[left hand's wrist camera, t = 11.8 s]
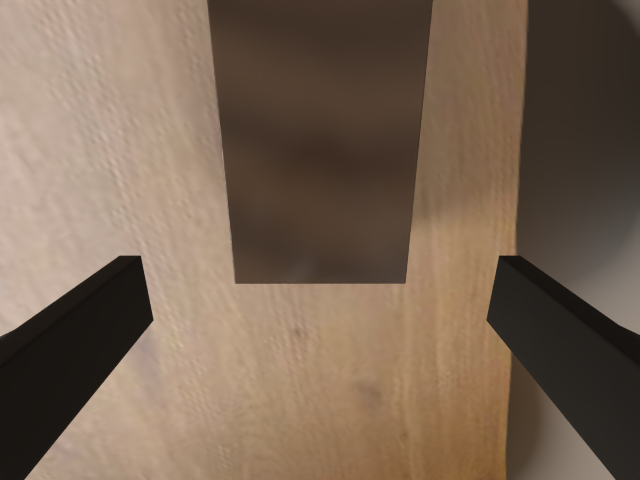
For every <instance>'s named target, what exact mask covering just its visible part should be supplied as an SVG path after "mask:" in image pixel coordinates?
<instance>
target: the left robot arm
mask: <svg viewBox="0 0 640 480" xmlns="http://www.w3.org/2000/svg"><path fill="white" fill-rule="evenodd" d="M152 321H153V315H152V310H151V305H150V300H149V295H148V290H147V285H146V280H145V275H144V270H143V265H142V259H141V256H119V257H117V258H116V259H114V260H113V261H112V262H110V263H109V264H107V265H106V266H104V267H103V268H102V269H100V270H99V271H97V272H96V273H95V274H93V275H92V276H90V277H89V278H87V279H86V280H85V281H83V282H82V283H80V284H79V285H77V286H76V287H75V288H73V289H72V290H70V291H69V292H68V293H66V294H65V295H63V296H62V297H60V298H59V299H58V300H56V301H55V302H53V303H52V304H50V305H49V306H48V307H46V308H45V309H43V310H42V311H41V312H39V313H38V314H36V315H35V316H33V317H32V318H31V319H29V320H28V321H26V322H25V323H23V324H22V325H21V326H19V327H18V328H16V329H15V330H13V331H11V332H9V333H7V334H5V335H3V336H1V337H0V480H24V479H25V478H26V477H27V476H28V474H29V473H30V472H31V471H32V470H33V468H34V467H35V466H36V465H37V463H38V462H39V461H40V460H41V458H42V457H43V456H44V455H45V453H46V452H47V451H48V450H49V449H50V447H51V446H52V445H53V444H54V442H55V441H56V440H57V439H58V437H59V436H60V435H61V434H62V432H63V431H64V430H65V429H66V428H67V426H68V425H69V424H70V423H71V421H72V420H73V419H74V418H75V416H76V415H77V414H78V413H79V412H80V410H81V409H82V408H83V407H84V405H85V404H86V403H87V402H88V400H89V399H90V398H91V397H92V395H93V394H94V393H95V392H96V391H97V389H98V388H99V387H100V386H101V384H102V383H103V382H104V381H105V379H106V378H107V377H108V376H109V374H110V373H111V372H112V371H113V370H114V368H115V367H116V366H117V365H118V363H119V362H120V361H121V360H122V358H123V357H124V356H125V355H126V354H127V352H128V351H129V350H130V349H131V347H132V346H133V345H134V344H135V342H136V341H137V340H138V339H139V337H140V336H141V335H142V334H143V333H144V331H145V330H146V329H147V328H148V326H149V325H150V324H151V323H152ZM487 321H488V323H489V324H490V325H491V326H492V328H493V329H494V330H495V331H496V333H497V334H498V335H499V336H500V337H501V339H502V340H503V341H504V342H505V344H506V345H507V346H508V347H509V349H510V350H511V351H512V352H513V354H514V355H515V356H516V357H517V358H518V360H519V361H520V362H521V363H522V365H523V366H524V367H525V368H526V370H527V371H528V372H529V373H530V374H531V376H532V377H533V378H534V379H535V381H536V382H537V383H538V384H539V386H540V387H541V388H542V389H543V390H544V392H545V393H546V394H547V395H548V397H549V398H550V399H551V400H552V402H553V403H554V404H555V405H556V407H557V408H558V409H559V410H560V412H561V413H562V414H563V415H564V416H565V418H566V419H567V420H568V421H569V423H570V424H571V425H572V426H573V428H574V429H575V430H576V431H577V432H578V434H579V435H580V436H581V437H582V439H583V440H584V441H585V442H586V444H587V445H588V446H589V447H590V448H591V450H592V451H593V452H594V453H595V455H596V456H597V457H598V458H599V460H600V461H601V462H602V463H603V465H604V466H605V467H606V468H607V469H608V471H609V472H610V473H611V474H612V476H613V477H614V478H615V479H616V480H640V335H639V334H636V333H634V332H632V331H630V330H628V329H626V328H624V327H622V326H619V325H618V324H617V323H615V322H614V321H612V320H611V319H609V318H608V317H607V316H605V315H604V314H602V313H601V312H599V311H598V310H597V309H595V308H594V307H592V306H591V305H590V304H588V303H587V302H585V301H584V300H582V299H581V298H580V297H578V296H577V295H575V294H574V293H572V292H571V291H570V290H568V289H567V288H565V287H564V286H563V285H561V284H560V283H558V282H557V281H555V280H554V279H553V278H551V277H550V276H548V275H547V274H545V273H544V272H543V271H541V270H540V269H538V268H537V267H536V266H534V265H533V264H531V263H530V262H528V261H527V260H526V259H524V258H523V257H521V256H499V259H498V265H497V270H496V275H495V280H494V285H493V290H492V295H491V300H490V305H489V310H488V315H487Z"/></svg>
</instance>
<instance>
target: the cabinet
mask: <svg viewBox="0 0 640 480" xmlns="http://www.w3.org/2000/svg"><path fill="white" fill-rule="evenodd" d="M432 3H433V0H207V4H208V14H209V24H210V34H211V44H212V54H213V65H214V75H215V85H216V95H217V105H218V116H219V126H220V136H221V146H222V156H223V167H224V177H225V187H226V197H227V207H228V218H229V228H230V238H231V248H232V258H233V269H234V279H235V283H236V284H405V283H406V273H407V262H408V252H409V242H410V231H411V221H412V210H413V200H414V190H415V179H416V169H417V159H418V148H419V138H420V127H421V117H422V107H423V96H424V86H425V75H426V65H427V55H428V44H429V34H430V23H431V13H432Z"/></svg>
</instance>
